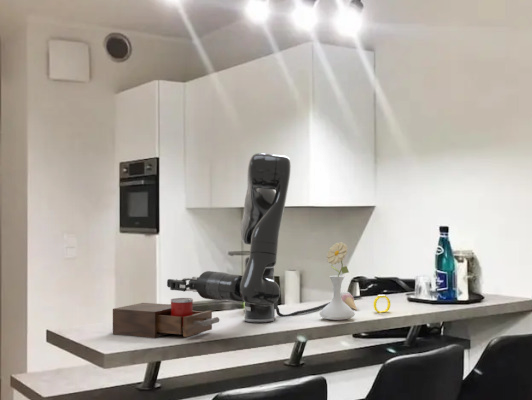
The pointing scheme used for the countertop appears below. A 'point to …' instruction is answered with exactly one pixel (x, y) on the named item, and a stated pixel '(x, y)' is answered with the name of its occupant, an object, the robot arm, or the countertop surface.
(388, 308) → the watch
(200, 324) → the drawer
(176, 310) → the tin can
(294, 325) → the countertop surface
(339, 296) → the flower in vase
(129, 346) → the countertop surface
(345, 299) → the ice cream cone
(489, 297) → the countertop surface
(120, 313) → the cabinet
